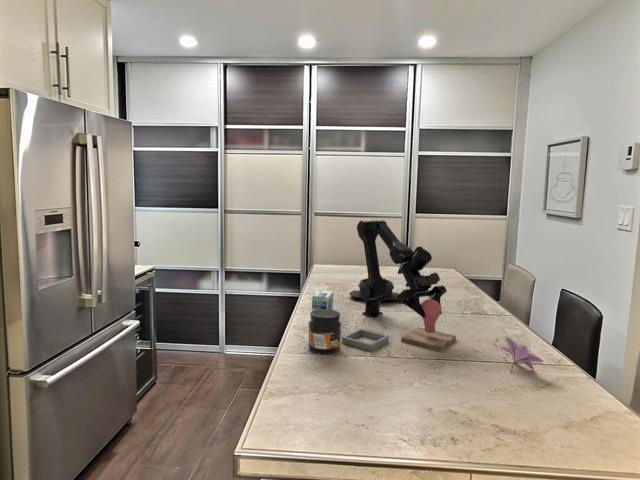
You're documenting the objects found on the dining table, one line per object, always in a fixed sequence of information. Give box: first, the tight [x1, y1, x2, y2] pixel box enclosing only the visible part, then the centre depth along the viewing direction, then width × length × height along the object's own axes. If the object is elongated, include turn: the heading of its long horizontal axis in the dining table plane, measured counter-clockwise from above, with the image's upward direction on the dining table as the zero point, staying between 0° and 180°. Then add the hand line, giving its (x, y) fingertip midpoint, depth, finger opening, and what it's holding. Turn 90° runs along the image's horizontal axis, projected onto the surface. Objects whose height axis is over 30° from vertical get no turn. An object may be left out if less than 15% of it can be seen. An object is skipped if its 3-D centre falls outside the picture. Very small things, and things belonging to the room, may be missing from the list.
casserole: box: [348, 278, 400, 303], centre depth 209 cm, size 25×19×8 cm
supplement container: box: [308, 309, 342, 355], centre depth 144 cm, size 10×10×12 cm
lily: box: [499, 335, 545, 372], centre depth 131 cm, size 12×12×10 cm
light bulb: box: [420, 298, 442, 333], centre depth 153 cm, size 7×7×12 cm
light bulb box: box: [311, 289, 334, 312], centre depth 174 cm, size 11×7×11 cm, turn 168°
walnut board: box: [400, 327, 457, 352], centre depth 154 cm, size 14×14×2 cm
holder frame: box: [341, 328, 390, 352], centre depth 151 cm, size 12×12×2 cm
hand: (432, 315), depth 152 cm, fingers closed on light bulb, 7 cm apart
